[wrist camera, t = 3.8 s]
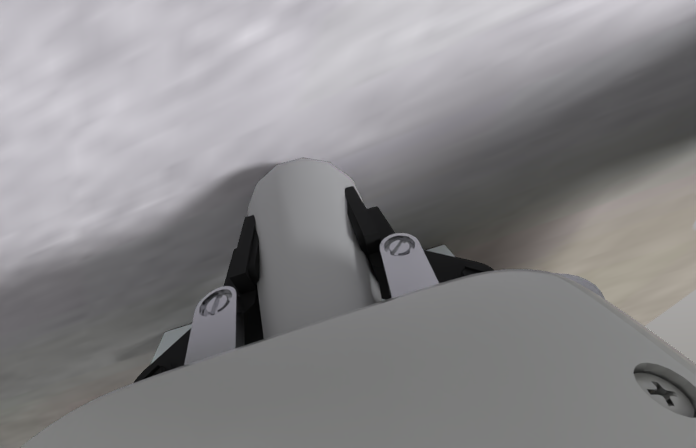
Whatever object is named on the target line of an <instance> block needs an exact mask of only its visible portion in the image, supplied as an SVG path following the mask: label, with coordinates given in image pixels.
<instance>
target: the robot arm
mask: <svg viewBox="0 0 696 448" xmlns="http://www.w3.org/2000/svg"><path fill="white" fill-rule="evenodd" d="M345 196H346V199H347V214H348V217H349V219H350V222H351V225H352V227H353V230H354V233H355V236H356V238H357V241H358V244H359V247H360V249H361V251H363V252H364V253H365V255H366V257H367V258H368V260H369V262H370V264H371V267H372V270H373V272H374V275H375V278H376V280H377V281H378V283H379V287H380V292H381V297H382V299H384V301H381V302H377V303H374V304H371V305H368V306H365V307H362V308H359V309H355V310H352V311H349V312H346V313H343V314H340V315H337V316H333V317H330V318H327V319H324V320H321V321H318V322H315V323H312V324H309V325H306V326H302V327H299V328H296V329H293V330H290V331H287V332H284V333H281V334H278V335H275V336H272V337H268V338H265V339H264V337H263V329H262V321H261V313H260V305H259V297H258V289H257V283H258V281H259V264H260V259H259V238H258V234H257V231H256V222H255V217H254V215H251V216H248V217H245V220H244V224H243V227H242V231H241V235H240V239H239V243H238V246H237V248H236V249H234V251H233V255H232V259H231V262H230V266H229V269H228V273H227V276H226V280H225V284H224V286H223V287H219V288H217V289H215V290H213V291H211V292H210V293H208V294H207V295H205V296H204V297H203V298H202V299H201V300H200V302H199V303H198V305H197V306H196V309H195V312H194V317H193V322H192V327H191V328H190V329H189V330H188V331H187V332H186V333H185V334H184V335H183V336H182V337H180V338H179V339H178V340H177V341H176V342H175V343H174V344H173V345H172V346H171V347H169V348H168V349H167V350H166V351H165V352H164V353H163V354H162V355H161V356H159V357H158V358H157V359H156V360H155V361H154V362H153V363H152V364H151V365H150V366H148V367H147V368H146V369H145V370H144V371H143V372H142V373H141V374H140V375H139V376H138V377H137V379H136V380H135V382H134V383H132V384H130V385H127V386H124V387H122V388H119V389H116V390H114V391H112V392H110V393H107V394H105V395H103V396H100V397H98V398H96V399H94V400H92V401H90V402H88V403H86V404H85V405H83V406H81V407H79V408H77V409H75V410H73V411H71V412H70V413H68V414H67V415H65V416H63V417H62V418H60V419H59V420H57V421H56V422H54V423H52V424H51V425H49V426H48V427H46V428H45V429H43V430H42V431H41V432H39V433H38V434H36V435H35V436H34V437H33V438H31V439H30V440H29V441H27V442H26V443H25V444H24V445H22V446H21V447H20V448H696V364H695V363H694V362H693V361H691V360H690V359H689V358H687V357H686V356H685V355H683V354H682V353H681V352H679V351H678V350H677V349H675V348H674V347H673V346H671V345H670V344H668V343H667V342H665V341H664V340H663V339H661V338H660V337H659V336H657V335H656V334H654V333H653V332H652V331H650V330H649V329H647V328H646V327H645V326H643V325H642V324H640V323H639V322H638V321H636V320H635V319H633V318H632V317H631V316H629V315H628V314H626V313H625V312H623V311H622V310H620V309H619V308H617V307H616V306H614V305H613V304H611V303H610V302H608V301H607V300H605V298H604V296H603V294H602V293H601V291H600V290H599V289H598V288H597V286H596V285H594V284H593V283H591V282H590V281H588V280H586V279H584V278H581V277H579V276H574V275H569V274H558V273H551V272H547V271H540V270H531V269H502V270H493V269H492V268H491V267H489V266H487V265H485V264H482V263H479V262H475V261H470V260H466V259H462V258H457V257H453V256H448V255H444V254H439V253H435V252H431V251H426V250H423V249H422V247H421V245H420V243H419V241H418V240H417V238H416V237H414V236H413V235H410V234H407V233H395V232H394V231H393V229H392V228H391V226H390V225H389V223H388V222H387V220H386V219H385V217H384V216H383V214H382V213H381V211H380V210H379V208H378V207H377V206H376V207H373V208H370V209H366V207H365V206H364V204H363V202H362V200H361V199H360V197H359V195H358V193H357V191H356V190H355V188H354V186H351V187H347V188H345Z"/></svg>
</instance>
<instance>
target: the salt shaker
mask: <svg viewBox="0 0 696 448" xmlns="http://www.w3.org/2000/svg"><path fill="white" fill-rule="evenodd" d="M351 186H354V188H355V190H356V191H357V193H358V195H359V197H360V199H361V200H362V198H361V196H360V194H359V192H358V190H357V188H356V186H355V184H354V182H353V180H352V179H351V178H350V177H349V176H348V175H347V174H345V173H344V172H342V171H341V170H340V169H338V168H337V167H335V166H334V165H333V164H331V163H330V162H326V161H320V160H314V159H308V158H300V159H296V160H293V161H289V162H286V163H282V164H278V165H276V166H275V167H274V168H273V169H272V170H271V171H270V172H269V173H268V174H266V175H265V176H264V177H263V178H262V179H261V180H260V181H259V182H258V183H257V185H256V186H255V189H254V192H253V195H252V198H251V200H250V203H249V206H248V209H247V210H248V216H251V215H254V217H255V222H256V231H257V234H258V238H259V259H260V264H259V281H258V283H257V289H258V297H259V305H260V313H261V321H262V329H263V337H264V339H265V338H268V337H272V336H275V335H278V334H281V333H284V332H287V331H290V330H293V329H296V328H299V327H302V326H306V325H309V324H312V323H315V322H318V321H321V320H324V319H327V318H330V317H333V316H337V315H340V314H343V313H346V312H349V311H352V310H355V309H359V308H362V307H365V306H368V305H371V304H374V303H377V302H381V301H382V297H381V292H380V287H379V283H378V281H377V280H376V278H375V275H374V272H373V270H372V267H371V264H370V262H369V260H368V258H367V257H366V255H365V253H364V252H363V251H361V249H360V247H359V244H358V241H357V238H356V236H355V233H354V230H353V227H352V225H351V222H350V219H349V217H348V214H347V199H346V196H345V188H347V187H351ZM362 202H363V201H362Z"/></svg>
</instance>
